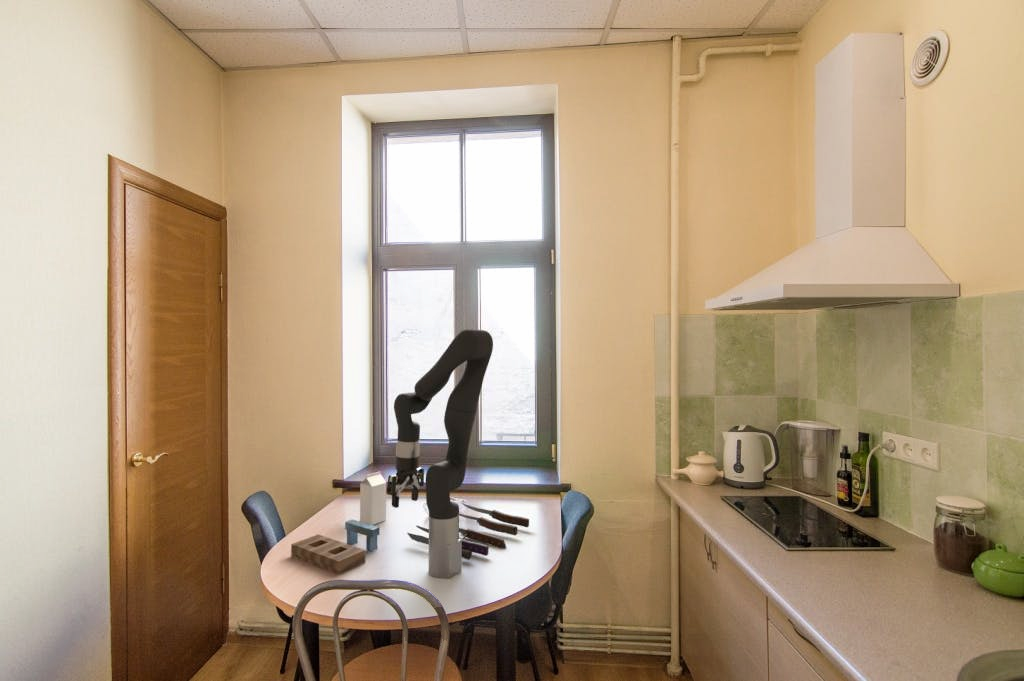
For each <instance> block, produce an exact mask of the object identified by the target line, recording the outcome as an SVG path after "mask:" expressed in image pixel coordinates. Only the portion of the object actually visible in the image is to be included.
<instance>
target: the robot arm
mask: <svg viewBox="0 0 1024 681" xmlns="http://www.w3.org/2000/svg"><path fill="white" fill-rule="evenodd" d="M493 349H494V339H493V337H492V335H491V334H490V332H488V331H487V330H484V329H475V328H474V329H473V328H472V329H469V328H468V329H463V330H461V331H460V332H459V333H457V334H456V336H455V337H454V338H453V339H452V341H451V342H450V344H449V345H448V346H447V348H446V349H445V351H444V352H443V353H442V354H441V356H440V357H439V358H438V360H437V361H436V362H435V364H433V366H432V367H431V368H430V369H428V371H427V372H426V373H424V375H422V377H421V378H419V379H418V381H417V382H416V383H415V385H414V391H412V392H403V393H399V394H398V395H397V396H396V397H395V400H394V402H393V410H394V415H395V419H396V426H397V439H396V440H397V441H396V446H395V463H394V464H395V466H394V467H395V469H396V472H395V475H391V474H389V475H388V477H387V485H386V495H389V496H391V506H392V508H394V509H395V508H396V509H398V508H399V506H400V493H401V492H402V491H403V490H404V489H405V488H406V487H408V486H411V495H410V496H411V497H410V498H411V501H414V502H415V501H418V500H419V492H420V488H421V487H423V486H424V485H425V500H426V501H425V502H426V507H427V510H428V529H429V533H428V538H429V545H428V574H429V575H430V576H432V577H434V578H439V579H440V578H442V579H443V578H445V579H446V578H447V579H450V578H452V577H454V576H456V575H457V574H459V573H460V572H462V558H463V557H462V540H461V539H459V537H460V532H459V528H460V515H459V513H460V505H459V504H458V503H457V502H455V501H453V500H452V501H451V492H452V491H454V490H458V489H459V488H460V487H461V486H462V485H463V482H464V480H465V477H466V476H465V475H466V470H467V460H468V452H469V447H470V446H469V445H470V443H471V442H470V441H471V437H472V432H473V427H474V423H475V420H476V414H477V410H478V406H479V404H478V403H479V401H480V395H481V391H482V387H483V382H484V379H485V375H486V372H487V368H488V366H489V363H490V360H491V357H492V354H493ZM465 362H466V363H465ZM464 363H465V368H464V371H463V373H462V375H461V377H460V378H459V380H458V382H457V383H456V385H455V386H454V388H453V389H452V391H451V393H450V394H449V397H448V399H447V402H446V406H445V412H444V415H443V416H444V419H443V423H444V428H445V431H446V435H447V439H448V445H447V452H446V455H445V459H444V461H441V462H437V463H434V464H432V465H430V466H429V467H428V468H427V470H426V474H425V469H424V468H422V467H420V452H421V448H420V447H421V445H420V438H421V436H420V435H421V434H420V433H421V425H420V423H419V422H417V421H414V420H413V419H412V415H416V414H420V413H421V412H423V411H425V409H427V407H428V406H429V405H430V403H431V401H432V400H433V398H434V397H435V396H436V395H438V394H439V393H440V391H441V390H443V388H444V387H445V386H446V385H447V384H448V383H449V381H450V378H451V375H452V374H453V372H454V371H455V370H456V369H457V368H459V366H461V365H462V364H464Z"/></svg>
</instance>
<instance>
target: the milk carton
mask: <svg viewBox="0 0 1024 681" xmlns="http://www.w3.org/2000/svg"><path fill="white" fill-rule="evenodd" d="M359 485H360V486H359V488H360V491H359V500H360V501H359V522H363V523H366V524H370V525H373V526H375V525H377V524H379V523H382V522H384V521H386V520H387V481H386V480H385V478H384V477H383V476H382V473H381V470H380V471H377V472H372V473H368V474H365V478H364V479H363V480H362V481H361V483H360V484H359Z"/></svg>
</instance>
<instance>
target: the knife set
mask: <svg viewBox="0 0 1024 681" xmlns="http://www.w3.org/2000/svg"><path fill="white" fill-rule="evenodd" d="M460 504H462V505H463V506H464V507H466V508H467V509H470V510H472V511H474V512H477V513H481V514H486V515H489V517H491V518H492V519H494V520H497V521H499V522H497V521H494V520H490V519H489V518H485V517H483V516H480V517H478V516H473V515H468V514H464V513H461V512H459V517H463V518H465V519H469V520H474V521H476V523H477V524H478V525H479V526H480V527H483V528H485V529H488V530H489V531H493V532H494V531H495V532H497V533H504V534H506V535H507V534H508V535H511V536H517V535H518V526H519V527H523V528H529V527H530V519H529V518H527V517H523V516H519V515H511V514H508V513H504V512H500V511H499V510H496V509H493V510H492V509H491V510H489V509H486V508H481V507H477V506H473V505H469V504H467V503H464V502H460ZM502 522H503V523H502ZM415 526H416V528H418V529H419V530H421V531H422V532H425V533H427V534H429V528H427V527H424V526H420V525H415ZM406 534H407V535H408V536H409V538H410V539H411V540H412V541H415V542H417V543H421V544H424V545H428V546H429V537H427V536H423V535H419V534H415V533H411V532H406ZM459 534H461V535H462V536H463V537H460V536H459V539H461V540H462V558H463V559H465V560H468V561H469V560H471V558H472V555H473V553H475V554H479V555H482V556H485V557H486V556H488V555H489V546H488V545H490V546H493V547H496V546H497V548H499V549H503V548H504V549H506V548H507V544H506V542H505V539H503V538H501V537H498V536H495V535H492V534H489V533H488V534H487V533H485V532H481V531H478V530H475V529H471V528H467V529H465V528H462V527H459ZM466 538H468V539H470V540H473V541H470V540H466ZM475 541H477V542H475ZM486 544H487V545H486Z"/></svg>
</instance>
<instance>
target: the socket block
mask: <svg viewBox="0 0 1024 681" xmlns="http://www.w3.org/2000/svg"><path fill="white" fill-rule="evenodd" d="M290 548H291V549H290V553H291V554H290V556H291V557H292V558H295V559H296V560H300V561H302V562H305V563H308V564H309V565H310V564H311V566H315V567H317V568H320V569H323V570H325V571H328V572H331V573H334V574H336V575H341V574H344V573H345V572H348V571H350V570H352V569H354V568H356V567H359V566H361V565H363V564H365V563H366V549H365V548H361V547H357V546H355V545H349V544H347V542H346V543H345V542H342V541H340V540H337V539H333V538H330V537H327V536H324V535H321V534H315V535H312V536H309V537H307V538H304V539H301V540H298V541H297V542H294V543H293V542H292V543H291V545H290Z"/></svg>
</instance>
